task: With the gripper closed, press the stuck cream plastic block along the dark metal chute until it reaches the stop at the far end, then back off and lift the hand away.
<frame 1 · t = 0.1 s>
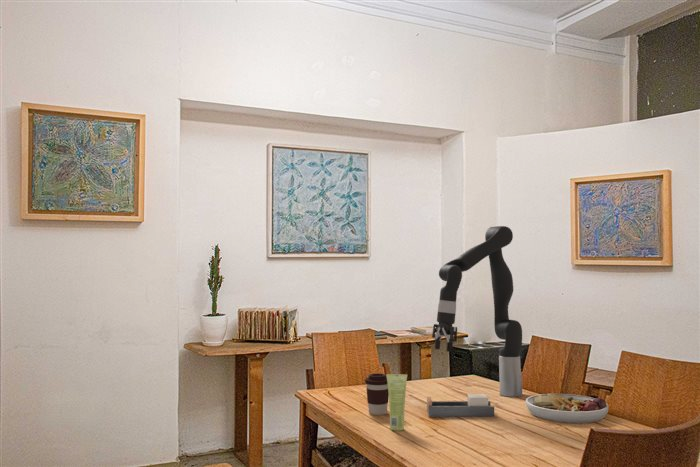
hand: (442, 350, 251), 22 cm above the table, tool pointing down, fingers open, 8 cm apart
chute: (459, 414, 233), on the table
tube: (397, 429, 213), on the table
coffee cup: (378, 413, 237), on the table
block: (477, 403, 233), point 4 cm above the table, slide at 0.0 cm
bowl: (566, 415, 231), on the table
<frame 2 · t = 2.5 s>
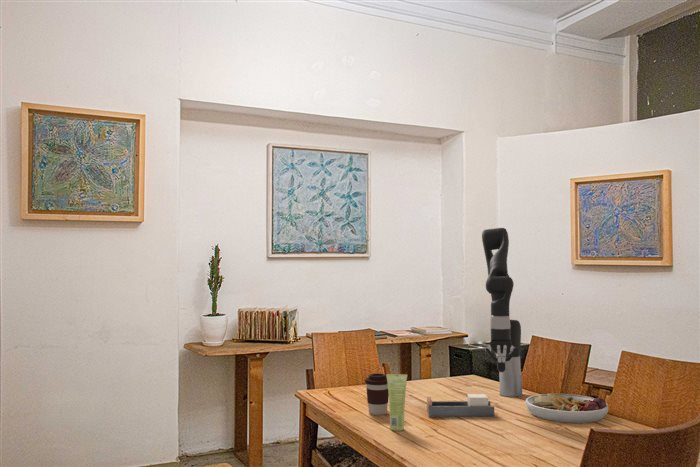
hand: (501, 371, 233), 16 cm above the table, tool pointing down, fingers closed
nothing on the table moved.
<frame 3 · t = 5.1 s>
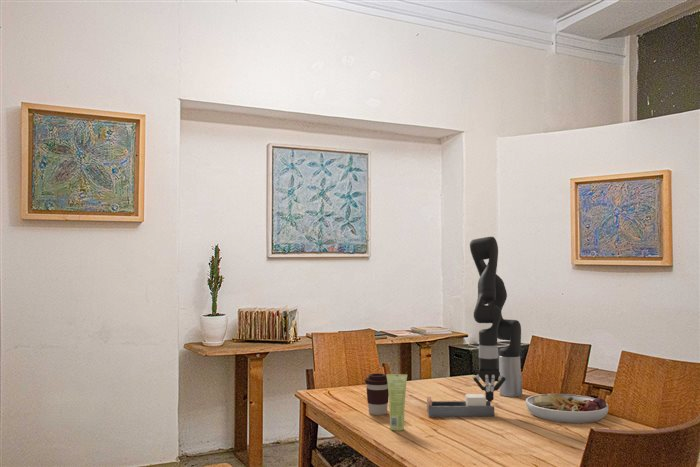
hand: (489, 401, 233), 5 cm above the table, tool pointing down, fingers closed
block: (475, 403, 233), point 4 cm above the table, slide at 0.8 cm, touching gripper
everything else where it was.
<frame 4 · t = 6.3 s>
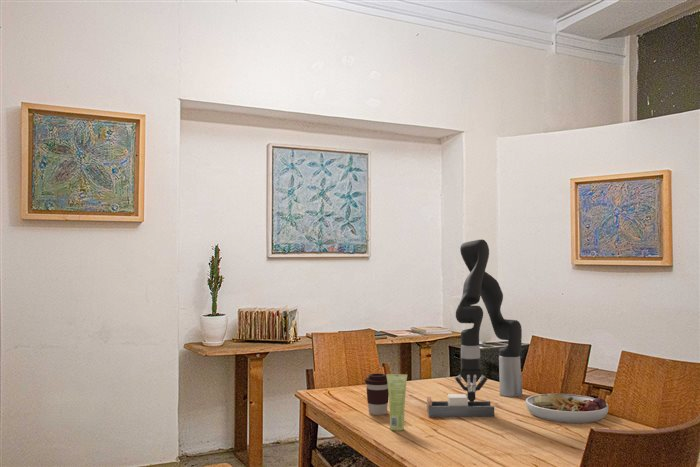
hand: (471, 401, 233), 5 cm above the table, tool pointing down, fingers closed
block: (457, 403, 233), point 4 cm above the table, slide at 7.8 cm, touching gripper
everything else where it was.
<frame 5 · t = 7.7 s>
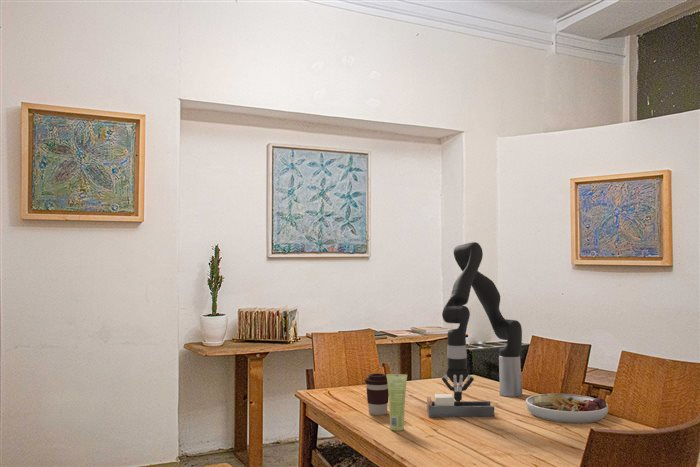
hand: (457, 401, 233), 5 cm above the table, tool pointing down, fingers closed
block: (444, 403, 234), point 4 cm above the table, slide at 13.0 cm, touching gripper
everything else where it was.
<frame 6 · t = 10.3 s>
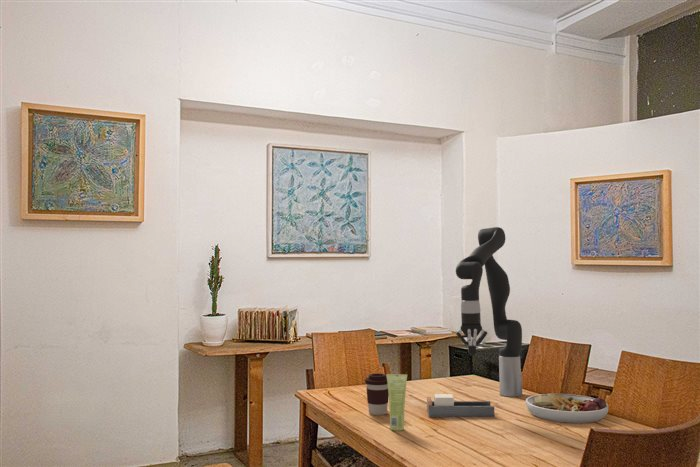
hand: (472, 355, 239), 22 cm above the table, tool pointing down, fingers closed
block: (443, 403, 234), point 4 cm above the table, slide at 13.2 cm
everything else where it was.
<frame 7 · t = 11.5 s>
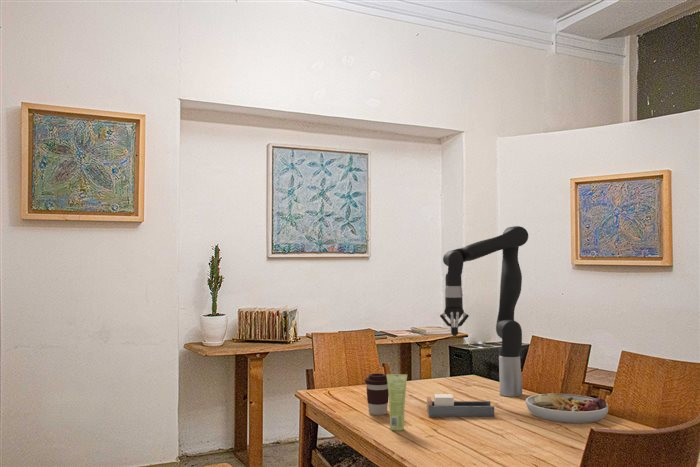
hand: (454, 335, 262), 27 cm above the table, tool pointing down, fingers closed
nothing on the table moved.
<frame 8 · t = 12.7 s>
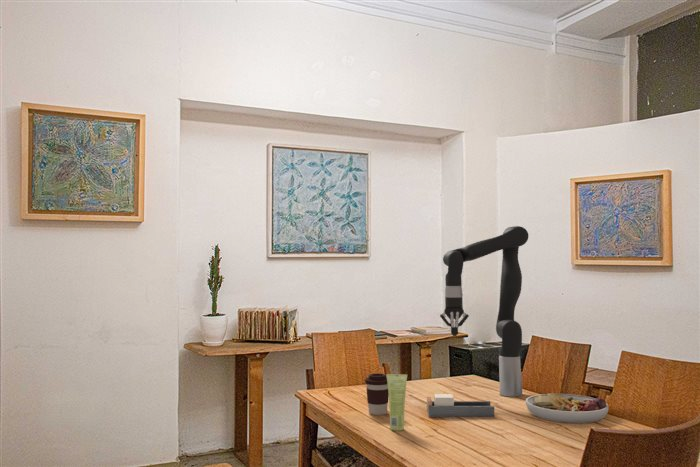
hand: (454, 335, 262), 27 cm above the table, tool pointing down, fingers closed
nothing on the table moved.
at the end: block slide at 13.2 cm; the gripper is holding nothing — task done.
